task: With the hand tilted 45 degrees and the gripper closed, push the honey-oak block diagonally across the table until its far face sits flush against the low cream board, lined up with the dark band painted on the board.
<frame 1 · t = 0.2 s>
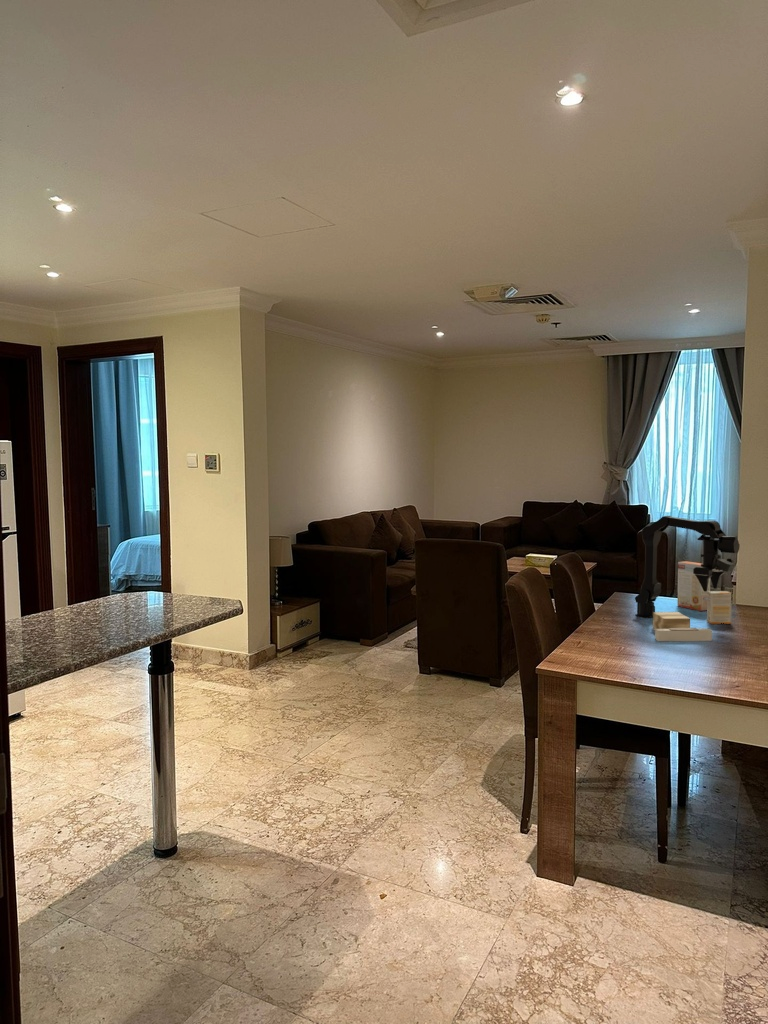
hand: (710, 589, 290), 15 cm above the table, tool pointing down, fingers open, 9 cm apart
cracker box: (693, 608, 326), on the table
oak block: (670, 632, 282), on the table
cream board: (683, 640, 269), on the table
supplement box: (718, 623, 297), on the table
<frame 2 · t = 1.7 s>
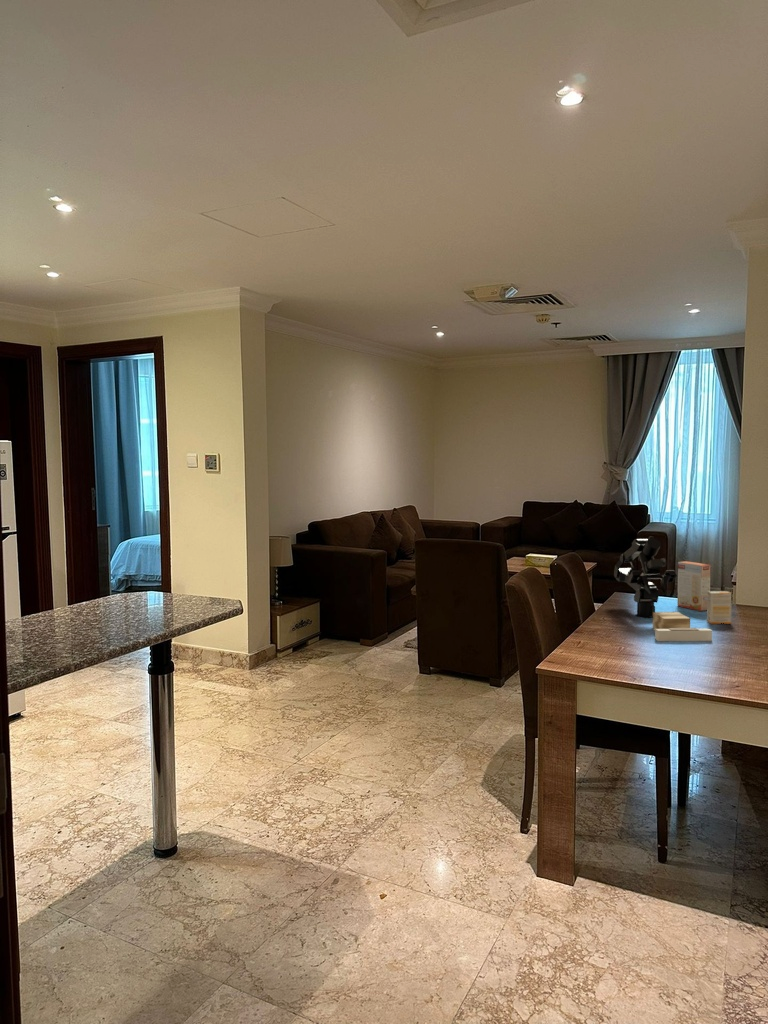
hand: (657, 593, 297), 13 cm above the table, tool tilted 45°, fingers open, 6 cm apart
nothing on the table moved.
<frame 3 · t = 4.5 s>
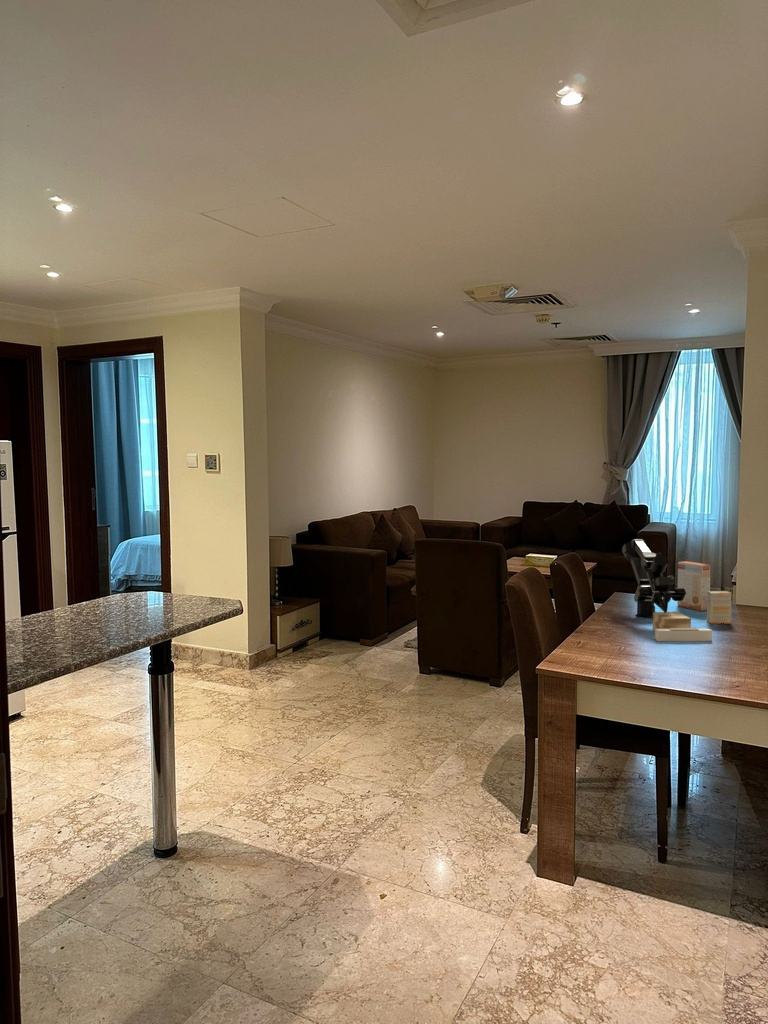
hand: (665, 611, 287), 7 cm above the table, tool tilted 45°, fingers closed
oak block: (671, 632, 282), on the table, touching gripper
everything else where it was.
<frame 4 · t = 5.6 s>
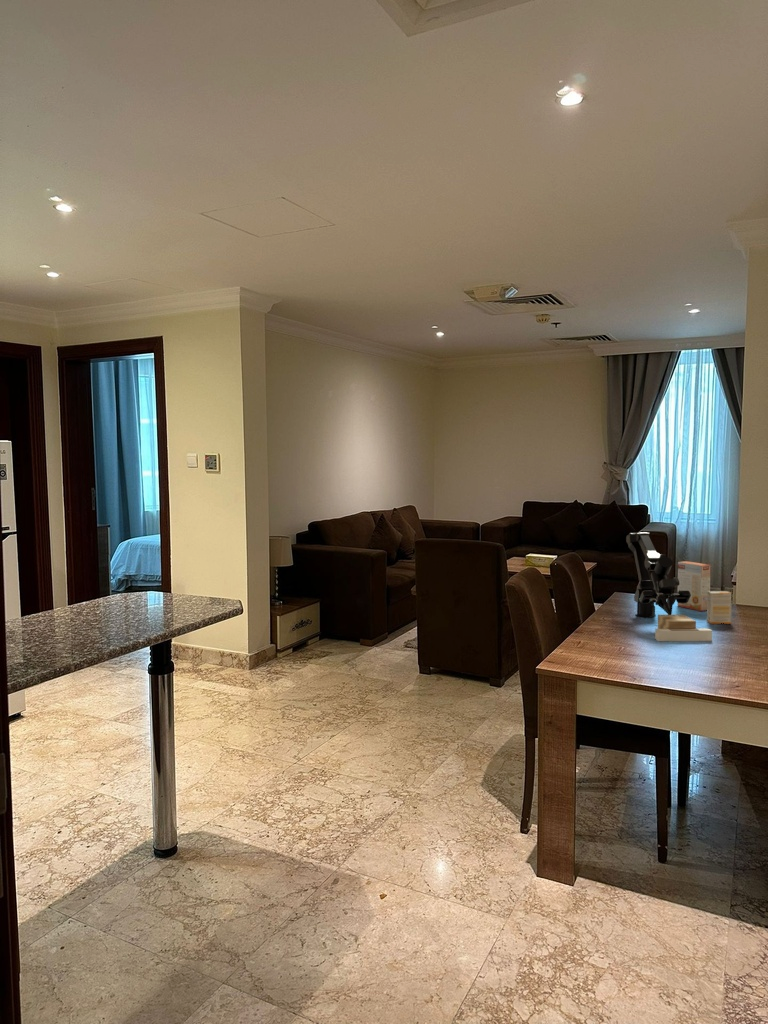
hand: (670, 614, 282), 7 cm above the table, tool tilted 45°, fingers closed, pressing on oak block
oak block: (676, 635, 277), on the table, touching cream board, gripper
everything else where it was.
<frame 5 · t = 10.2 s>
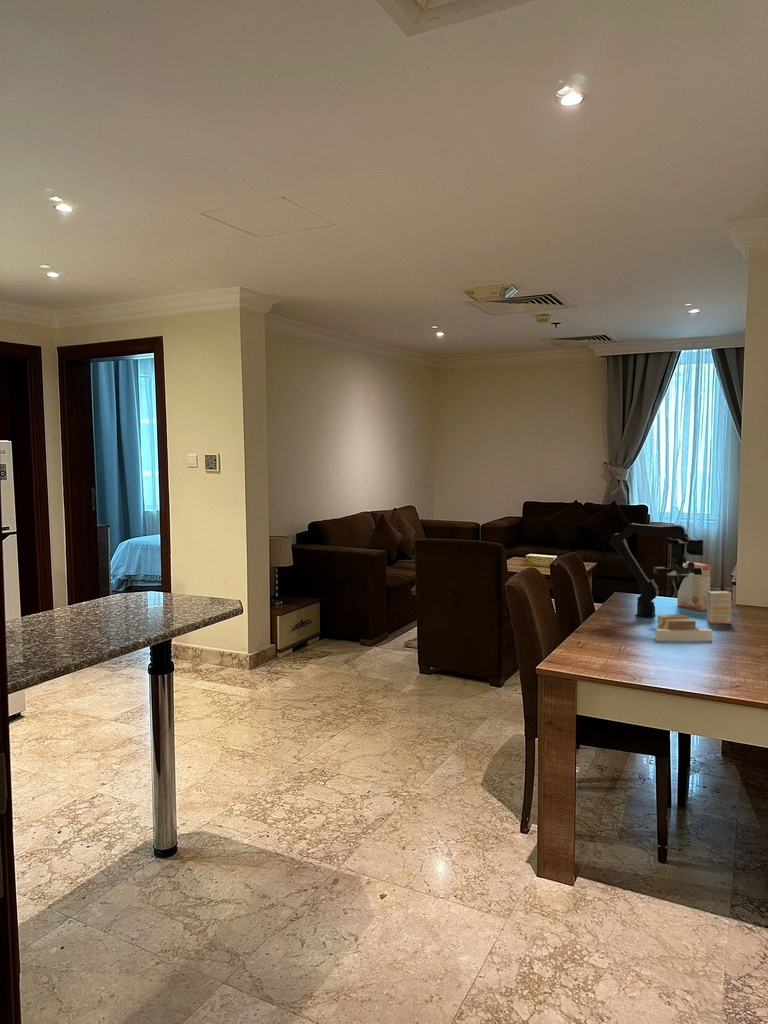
hand: (677, 590, 305), 12 cm above the table, tool pointing down, fingers closed
oak block: (676, 635, 277), on the table
everything else where it was.
at the end: oak block 0.2 cm from the target spot on the table beside the cream board, on the table; oak block tilted 0° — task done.
